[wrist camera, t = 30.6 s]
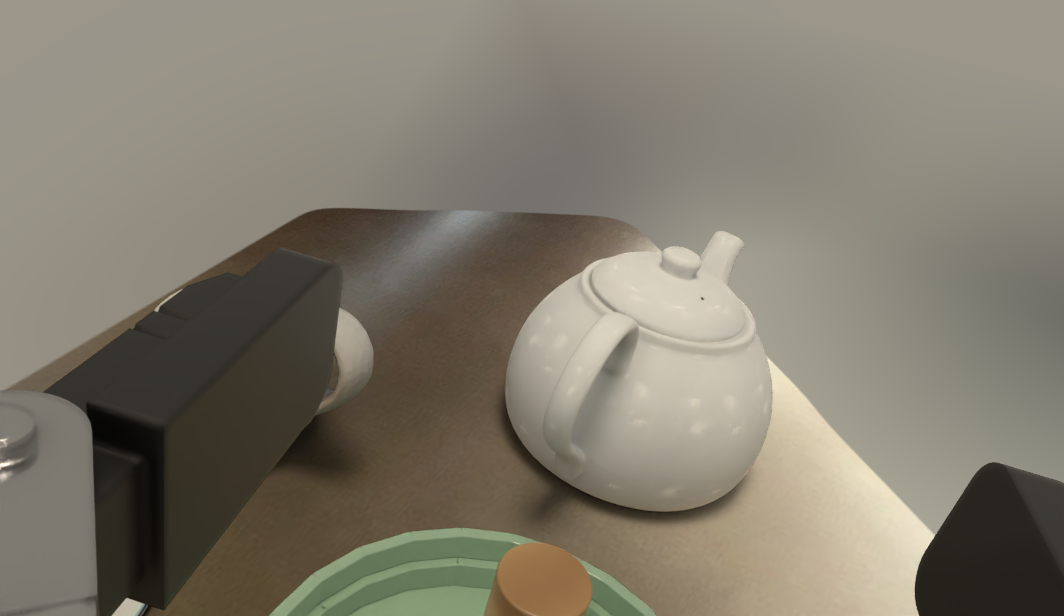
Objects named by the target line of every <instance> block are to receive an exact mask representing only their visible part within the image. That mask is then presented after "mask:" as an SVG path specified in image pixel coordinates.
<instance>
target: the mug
mask: <svg viewBox="0 0 1064 616" xmlns="http://www.w3.org/2000/svg"><path fill="white" fill-rule="evenodd" d="M181 290H183V289H181ZM181 290H179V291H178V292H180V291H181ZM178 292H176V293H174V294H172V295H171V296H169V297H168V298H167V299H165V300H164V301H163V302H161V303H160V304H159V305H158V306H157V307H156V309H155V310H154V311H157V312H158V310H159V306H161V305H162V304H164V303H165V302H166V301H168V300H169V299H170V298H172V297H173V296H174V295H176V294H177V293H178ZM334 355H335V358H336V362H337V365H338V371H339V379H338V383H337V387H336V389H332V388H330V387H329V386H327V389H326V392H325V395H324V397H323V399H322V402H321V404H320V406H319V408H318V409H317V411H316V413H315V414H314V416H316V415H319V414H322V413H325V412H328V411H331V410H333V409H336V408H338V407H340V406H342V405H344V404H345V403H347V402H349V401H350V400H352V399H354V398H355V397H356V396H357V395H358V394H359V393H360V392H361V391H362V390H363V389H364V388H365V386H366V385H367V383H368V381H369V379H370V377H371V374H372V370H373V357H374V353H373V348H372V344H371V342H370V339H369V337H368V334H367V332H366V331H365V329H364V328H363V326H362V325H361V324H360V322H359V321H358V320H357V319H356V318H355V317H353V316H352V315H351V314H350V313H348V312H347V311H345V310H343V309H342V308H339V315H338V323H337V331H336V339H335V347H334ZM314 416H313V417H312V419H313V418H314ZM312 419H311V420H310V421H309V422H308V424H309V423H310V422H311V421H312ZM308 424H307V425H308ZM307 425H306V426H307ZM306 426H305V427H306Z"/></svg>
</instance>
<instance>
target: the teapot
mask: <svg viewBox="0 0 1064 616" xmlns="http://www.w3.org/2000/svg"><path fill="white" fill-rule="evenodd" d="M744 246H745V244H744V242H743V241H742V240H741V239H739V238H738V237H736V236H734V235H732V234H729V233H726V232H723V231H718V232H716V233H715V234H714V236H713V237H712V239H711V241H710V242H709V244H708V245H707V247H706V249H705V250H704V251H703V253H702V255H701V256H700V258H699V256H698V255H697V254H696V253H694V252H692V251H690V250H688V249H686V248H682V247H676V246H673V247H669V248H666V249H665V250H664V251H663V253H658V252H644V251H638V252H628V253H624V254H620V255H616V256H614V257H611V258H606V259H601V260H598V261H596V262H594V263H592V264H590V265H589V266H587V267H586V268H585V269H584V271H583V272H582V273H579V274H577V275H576V276H574V277H572V278H570V279H569V280H567V281H566V282H564V283H563V284H561V285H560V286H559V287H557V288H556V289H555V290H553V291H552V292H551V293H550V294H549V295H548V296H547V297H546V298H544V299H543V300H542V301H541V302H540V303H539V305H538V306H537V307H536V308H535V309H534V310H533V312H532V313H531V314H530V316H529V317H528V319H527V320H526V322H525V323H524V325H523V327H522V328H521V330H520V332H519V334H518V337H517V339H516V341H515V343H514V346H513V349H512V352H511V355H510V359H509V363H508V368H507V374H506V381H505V398H506V406H507V411H508V415H509V418H510V421H511V423H512V426H513V428H514V430H515V432H516V434H517V435H518V437H519V439H520V440H521V441H522V443H523V444H524V446H525V447H526V448H527V450H528V451H529V452H530V453H531V454H532V456H533V457H534V458H535V459H537V460H538V461H539V462H540V463H541V464H542V465H543V466H544V467H545V468H547V469H548V470H549V471H551V472H552V473H553V474H555V475H556V476H557V477H559V478H560V479H562V480H563V481H565V482H567V483H568V484H570V485H571V486H573V487H575V488H577V489H579V490H581V491H583V492H585V493H588V494H590V495H592V496H594V497H597V498H599V499H602V500H605V501H608V502H611V503H614V504H617V505H621V506H625V507H630V508H634V509H640V510H646V511H661V512H670V511H681V510H688V509H692V508H696V507H700V506H703V505H706V504H708V503H711V502H713V501H715V500H717V499H719V498H720V497H722V496H724V495H725V494H727V493H728V492H729V491H730V490H732V489H733V488H734V487H735V486H736V485H737V484H738V483H739V482H740V481H741V480H742V479H743V478H744V476H745V475H746V474H747V472H748V471H749V469H750V468H751V466H752V465H753V463H754V461H755V460H756V458H757V456H758V454H759V452H760V450H761V448H762V445H763V443H764V440H765V438H766V434H767V431H768V427H769V423H770V418H771V412H772V393H773V392H772V380H771V374H770V369H769V365H768V361H767V358H766V354H765V351H764V349H763V346H762V343H761V341H760V339H759V336H758V334H757V332H756V325H755V320H754V318H753V316H752V314H751V312H750V311H749V309H748V308H747V307H746V305H745V304H743V302H742V301H741V300H740V299H739V298H738V297H737V296H736V295H734V293H733V292H732V291H731V290H730V288H729V287H728V283H729V279H730V275H731V271H732V268H733V266H734V263H735V261H736V258H737V257H738V254H739V253H740V252H741V251H742V249H743V248H744Z"/></svg>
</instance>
